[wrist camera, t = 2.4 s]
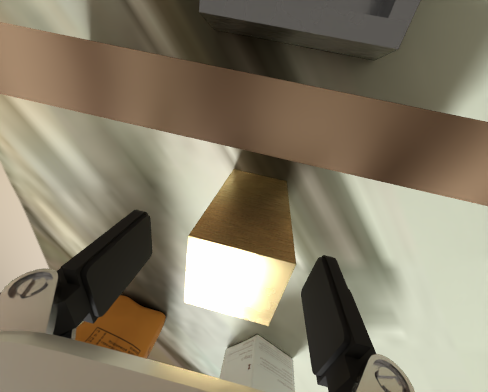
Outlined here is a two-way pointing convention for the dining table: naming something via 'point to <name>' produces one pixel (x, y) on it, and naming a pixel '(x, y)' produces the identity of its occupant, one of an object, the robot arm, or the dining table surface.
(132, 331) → the coffee package
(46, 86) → the brown plank
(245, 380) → the supplement box
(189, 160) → the dining table surface
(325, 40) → the grey square tray
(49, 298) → the robot arm
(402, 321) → the dining table surface
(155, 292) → the dining table surface
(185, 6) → the dining table surface
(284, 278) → the block
